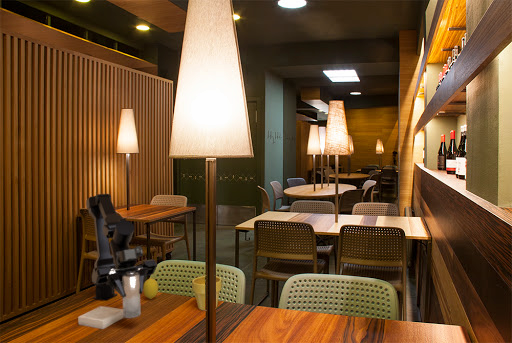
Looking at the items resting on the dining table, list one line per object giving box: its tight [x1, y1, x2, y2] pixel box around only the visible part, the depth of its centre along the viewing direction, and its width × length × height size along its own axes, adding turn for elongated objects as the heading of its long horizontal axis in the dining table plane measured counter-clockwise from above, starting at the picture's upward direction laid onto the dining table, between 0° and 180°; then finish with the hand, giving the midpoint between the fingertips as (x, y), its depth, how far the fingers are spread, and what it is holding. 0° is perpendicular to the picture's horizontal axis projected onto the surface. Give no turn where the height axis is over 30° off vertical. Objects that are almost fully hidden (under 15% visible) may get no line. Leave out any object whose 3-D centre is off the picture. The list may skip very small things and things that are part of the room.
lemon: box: [142, 277, 159, 300], centre depth 151 cm, size 6×6×8 cm
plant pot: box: [191, 275, 223, 311], centre depth 142 cm, size 10×10×10 cm
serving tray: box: [77, 305, 125, 330], centre depth 132 cm, size 10×10×2 cm
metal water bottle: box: [121, 271, 142, 319], centre depth 126 cm, size 5×5×14 cm
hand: (132, 295), depth 125 cm, fingers closed on metal water bottle, 5 cm apart
